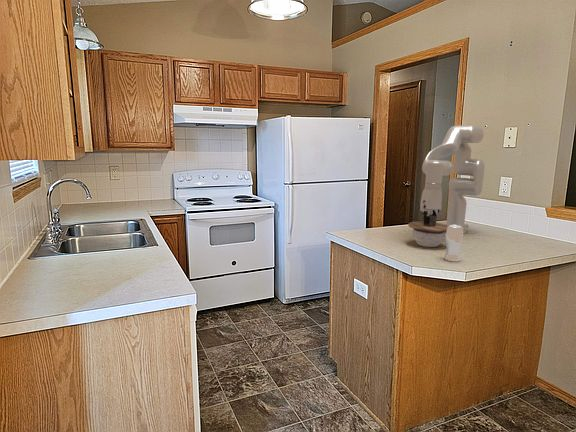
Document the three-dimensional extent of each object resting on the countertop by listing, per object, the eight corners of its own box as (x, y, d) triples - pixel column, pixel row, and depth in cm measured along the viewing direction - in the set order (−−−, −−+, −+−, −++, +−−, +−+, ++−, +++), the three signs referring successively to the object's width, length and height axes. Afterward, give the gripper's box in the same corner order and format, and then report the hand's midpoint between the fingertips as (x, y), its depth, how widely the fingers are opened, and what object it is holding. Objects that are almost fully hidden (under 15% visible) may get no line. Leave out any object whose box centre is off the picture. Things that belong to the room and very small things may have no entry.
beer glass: (452, 262, 164) (456, 228, 161) (439, 258, 170) (443, 225, 167) (463, 260, 167) (467, 227, 164) (450, 256, 173) (454, 223, 170)
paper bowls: (430, 250, 182) (431, 234, 181) (405, 243, 195) (406, 228, 194) (450, 246, 190) (452, 231, 189) (425, 240, 203) (426, 225, 202)
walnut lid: (428, 221, 204) (429, 211, 203) (460, 229, 187) (461, 218, 186) (399, 224, 195) (400, 213, 194) (430, 233, 178) (431, 220, 177)
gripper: (439, 185, 195) (435, 220, 198) (414, 186, 187) (411, 223, 190) (451, 186, 188) (447, 223, 191) (426, 187, 180) (423, 226, 184)
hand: (429, 222), depth 191 cm, fingers closed on walnut lid, 4 cm apart
